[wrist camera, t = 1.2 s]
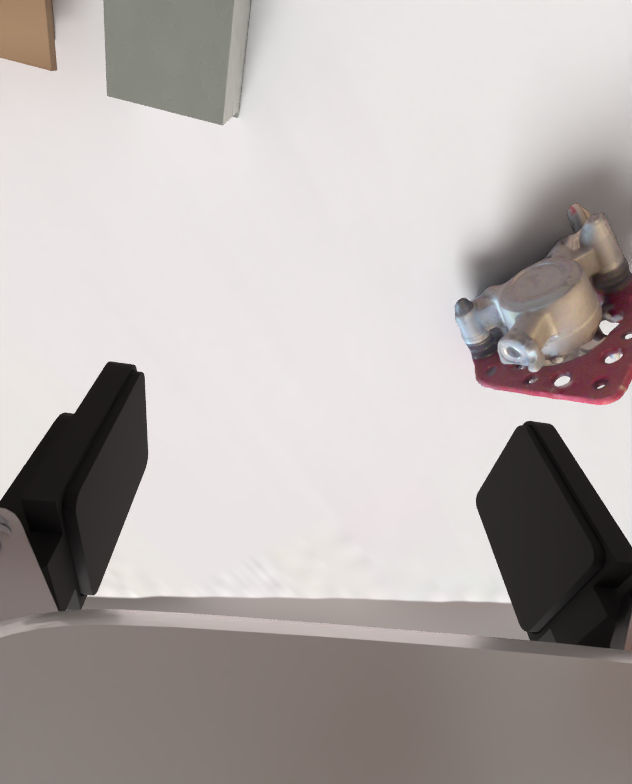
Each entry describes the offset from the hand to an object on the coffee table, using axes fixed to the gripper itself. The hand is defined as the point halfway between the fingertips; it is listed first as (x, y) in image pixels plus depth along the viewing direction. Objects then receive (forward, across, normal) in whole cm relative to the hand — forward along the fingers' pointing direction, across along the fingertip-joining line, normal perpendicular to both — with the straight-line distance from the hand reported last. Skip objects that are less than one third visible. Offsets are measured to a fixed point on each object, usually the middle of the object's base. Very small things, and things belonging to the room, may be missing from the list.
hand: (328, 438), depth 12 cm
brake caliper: (+21, -16, +3) cm, 27 cm away
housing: (+21, +8, -8) cm, 24 cm away
